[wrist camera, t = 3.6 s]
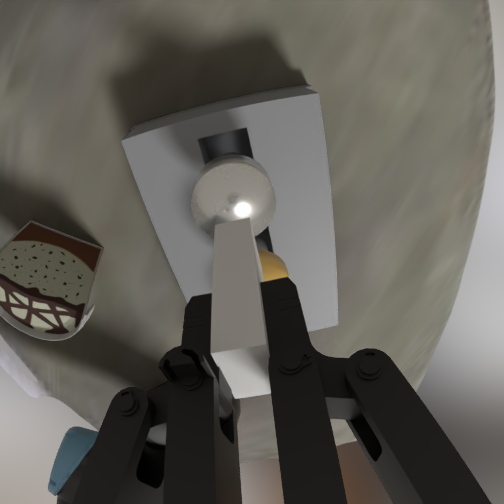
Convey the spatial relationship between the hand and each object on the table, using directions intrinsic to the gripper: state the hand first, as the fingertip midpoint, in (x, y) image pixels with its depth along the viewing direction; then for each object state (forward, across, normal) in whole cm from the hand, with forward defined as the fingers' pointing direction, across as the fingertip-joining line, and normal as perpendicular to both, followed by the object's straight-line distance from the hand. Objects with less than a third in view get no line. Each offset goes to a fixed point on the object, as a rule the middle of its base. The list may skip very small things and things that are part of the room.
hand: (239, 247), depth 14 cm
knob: (+10, 0, 0) cm, 10 cm away
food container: (+15, -21, -6) cm, 27 cm away
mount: (+15, 0, -7) cm, 17 cm away
